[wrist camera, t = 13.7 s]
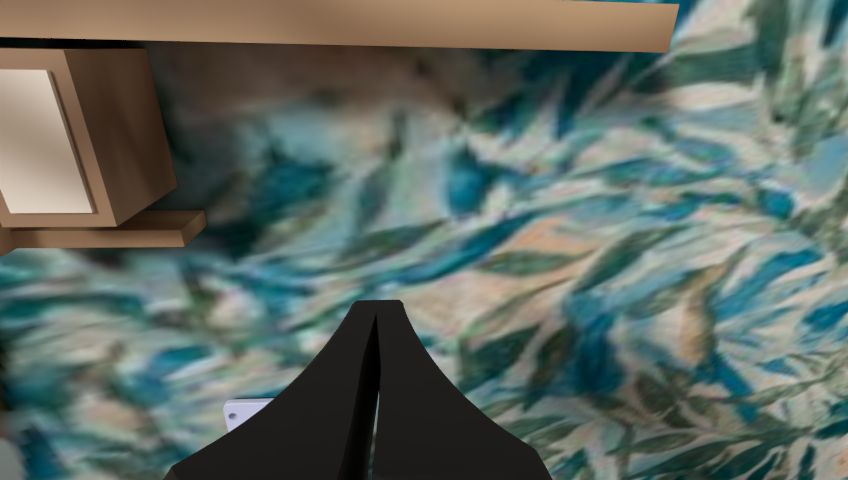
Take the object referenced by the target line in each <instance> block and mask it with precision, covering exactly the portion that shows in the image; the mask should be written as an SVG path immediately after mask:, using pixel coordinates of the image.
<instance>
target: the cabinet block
mask: <svg viewBox="0 0 848 480" xmlns="http://www.w3.org/2000/svg"><path fill="white" fill-rule="evenodd" d="M177 187H178V185H177V181H176V176H175V172H174V167H173V163H172V159H171V154H170V150H169V146H168V141H167V137H166V133H165V128H164V124H163V120H162V115H161V111H160V106H159V102H158V98H157V93H156V89H155V85H154V80H153V76H152V72H151V67H150V63H149V59H148V54H147V50H146V49H135V48H83V47H0V223H1V225H2V227H114V226H118V225H120V224H121V223H123V222H124V221H126V220H128V219H129V218H131V217H132V216H134V215H135V214H137V213H138V212H140V211H141V210H143V209H144V208H146V207H147V206H149V205H151V204H152V203H154V202H155V201H157V200H158V199H160V198H161V197H163V196H164V195H166V194H167V193H169V192H170V191H172V190H174V189H175V188H177Z"/></svg>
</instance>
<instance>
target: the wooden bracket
mask: <svg viewBox="0 0 848 480" xmlns="http://www.w3.org/2000/svg"><path fill="white" fill-rule="evenodd" d="M678 8H679V4H652V3H620V2H589V1H557V0H0V37H25V38H68V39H110V40H153V41H195V42H237V43H280V44H322V45H365V46H407V47H450V48H492V49H535V50H577V51H619V52H662V53H668V50H669V46H670V42H671V37H672V33H673V29H674V25H675V20H676V16H677V12H678ZM206 226H207V223H206V218H205V213H204V210H141V211H140V212H138V213H137V214H135V215H134V216H132V217H131V218H129V219H128V220H126V221H124V222H123V223H121V224H120V225H118V226H114V227H2V225H1V223H0V257H1V256H3V255H5V254H7V253H9V252H11V251H13V250H14V249H16V248H103V247H185V246H186V245H187V244H188V243H189V242H190V241H191V240H192V239H193V238H194V237H195V236H196V235H197V234H198V233H199V232H201V231H202V230H203V229H204V228H205V227H206Z"/></svg>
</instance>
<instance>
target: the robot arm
mask: <svg viewBox="0 0 848 480" xmlns="http://www.w3.org/2000/svg"><path fill="white" fill-rule="evenodd" d="M378 393H379V409H378V421H377V433H376V443H375V453H374V462H373V471H372V478H373V480H552V478H551V476H550V474H549V472H548V470H547V468H546V467H545V465H544V463H543V461H542V460H541V458H540V456H539V454H538V453H537V451H536V450H535V449H534V448H532V447H531V446H529V445H528V444H526V443H524V442H523V441H521V440H520V439H518V438H517V437H515V436H514V435H512V434H511V433H509V432H507V431H506V430H504V429H503V428H502V427H500V426H499V425H497V424H496V423H495V422H494V421H492V420H491V419H490V418H488V417H487V416H486V415H485V414H484V413H482V412H481V411H480V410H479V409H478V408H477V407H476V406H475V405H474V404H472V403H471V402H470V401H469V400H468V399H467V398H466V397H465V396H464V395H463V394H462V393H461V392H460V391H459V390H458V389H457V388H456V387H455V386H454V385H453V384H452V383H451V382H450V381H449V379H448V378H447V377H446V376H445V375H444V374H443V372H442V371H441V370H440V369H439V367H438V366H437V365H436V363H435V362H434V361H433V359H432V358H431V357H430V355H429V354H428V352H427V351H426V349H425V348H424V346H423V345H422V343H421V341H420V340H419V338H418V336H417V335H416V333H415V331H414V329H413V327H412V325H411V323H410V321H409V319H408V317H407V315H406V312H405V309H404V306H403V303H402V302H401V301H400V300H361V301H355V302H354V303H353V304H352V306H351V308H350V310H349V312H348V313H347V315H346V317H345V318H344V320H343V321H342V323H341V324H340V326H339V327H338V329H337V330H336V332H335V333H334V334H333V336H332V337H331V338H330V340H329V341H328V342H327V344H326V345H325V346H324V348H323V349H322V350H321V351H320V352H319V354H318V355H317V356H316V357H315V358H314V359H313V361H312V362H311V363H310V364H309V365H308V366H307V367H306V369H305V370H304V371H303V372H302V373H301V374H300V375H299V376H298V377H297V378H296V379H295V380H294V381H293V382H292V383H291V384H290V385H289V386H288V387H287V388H286V389H284V390H283V391H282V392H281V393H280V394H279V395H278V396H276V397H275V398H266V399H234V400H228V401H227V402H226V403H225V405H224V407H223V411H224V415H225V420H226V424H227V428H228V432H229V433H227V434H226V435H224V436H222V437H221V438H219V439H218V440H216V441H215V442H213V443H211V444H209V445H208V446H206V447H204V448H203V449H201V450H199V451H198V452H196V453H194V454H192V455H191V456H189V457H187V458H186V459H184V460H182V461H180V462H179V463H177V464H175V465H173V466H172V467H171V468H170V470H169V472H168V473H167V475H166V476H165V478H164V479H163V480H367V478H368V467H369V458H370V451H371V444H372V437H373V429H374V422H375V415H376V407H377V400H378ZM232 413H235V414H232Z"/></svg>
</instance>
